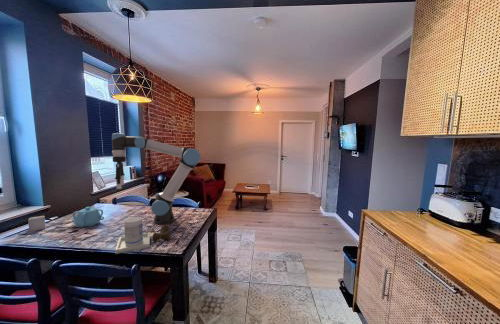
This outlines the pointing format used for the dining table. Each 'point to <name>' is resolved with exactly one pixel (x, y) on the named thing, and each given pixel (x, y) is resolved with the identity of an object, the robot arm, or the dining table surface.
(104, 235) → the dining table surface
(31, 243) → the dining table surface
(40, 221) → the medicine box
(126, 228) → the supplement tub
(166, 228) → the kendama
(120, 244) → the sage tray
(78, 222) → the decorative pot
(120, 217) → the dining table surface
